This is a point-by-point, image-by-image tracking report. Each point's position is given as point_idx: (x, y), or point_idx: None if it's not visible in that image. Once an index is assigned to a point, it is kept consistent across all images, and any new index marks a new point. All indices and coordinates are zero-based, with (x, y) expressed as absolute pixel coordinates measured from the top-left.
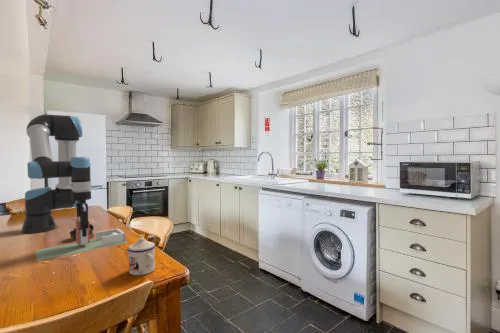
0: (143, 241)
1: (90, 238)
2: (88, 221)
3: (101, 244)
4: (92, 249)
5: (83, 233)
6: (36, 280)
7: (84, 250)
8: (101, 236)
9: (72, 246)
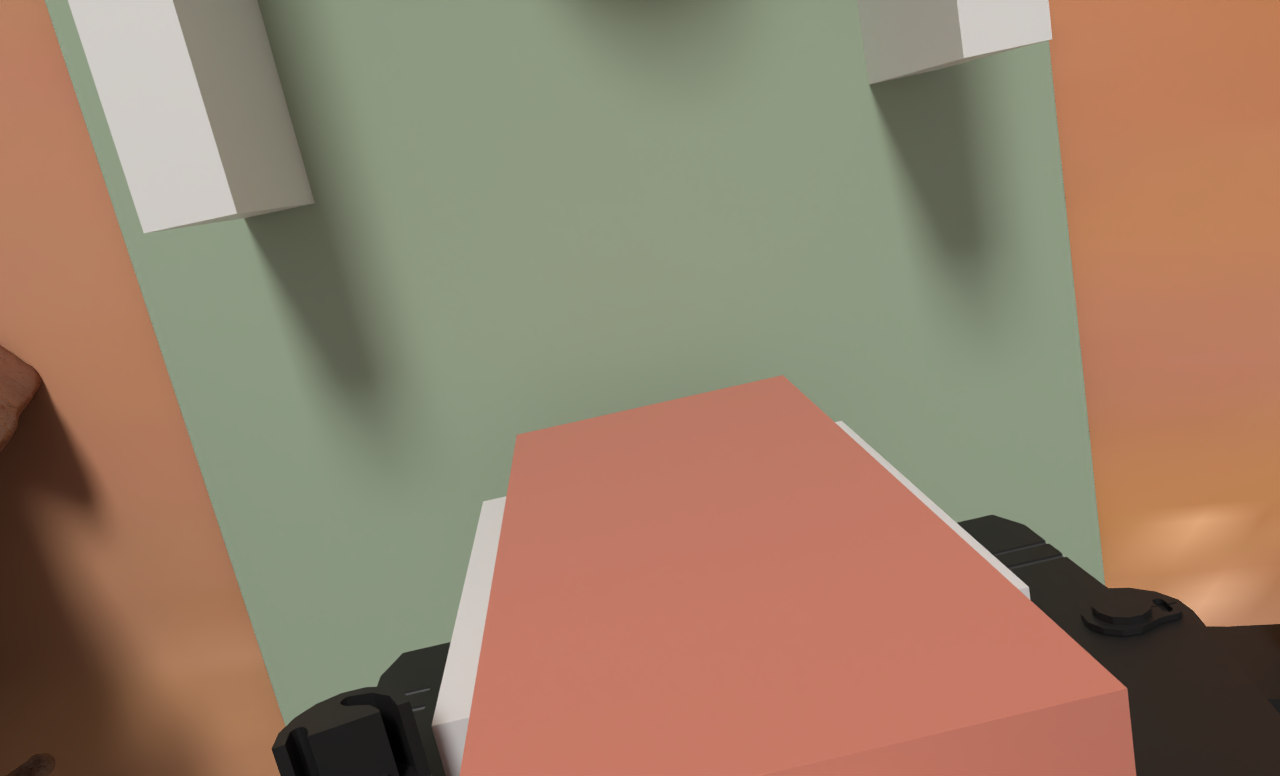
0: None
1: (15, 372)
2: (1120, 714)
3: (770, 89)
4: (1073, 293)
5: None
6: None
7: (1042, 452)
8: (246, 68)
9: None
